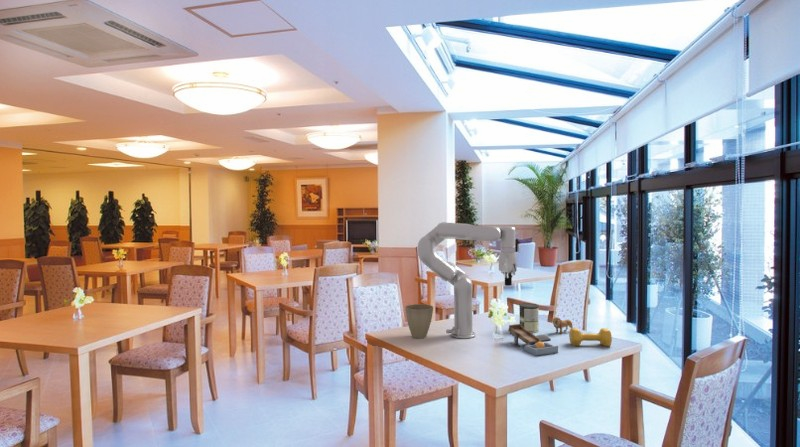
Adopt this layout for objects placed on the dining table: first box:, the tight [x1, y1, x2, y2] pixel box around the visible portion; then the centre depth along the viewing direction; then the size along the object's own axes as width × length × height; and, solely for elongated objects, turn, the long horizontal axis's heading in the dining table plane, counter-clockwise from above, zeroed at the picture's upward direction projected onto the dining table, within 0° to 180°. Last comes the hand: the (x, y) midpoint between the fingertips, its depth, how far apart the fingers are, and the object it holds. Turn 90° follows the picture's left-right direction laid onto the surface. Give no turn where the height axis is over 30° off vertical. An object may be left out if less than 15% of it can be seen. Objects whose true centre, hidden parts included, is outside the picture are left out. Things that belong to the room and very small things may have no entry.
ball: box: [535, 341, 545, 349], centre depth 223 cm, size 4×4×4 cm
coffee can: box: [519, 302, 540, 334], centre depth 262 cm, size 10×10×14 cm
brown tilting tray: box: [508, 323, 552, 345], centre depth 236 cm, size 15×14×4 cm
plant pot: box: [404, 303, 434, 339], centre depth 251 cm, size 15×15×16 cm
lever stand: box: [510, 332, 536, 348], centre depth 234 cm, size 4×12×6 cm, turn 113°
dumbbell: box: [568, 327, 613, 347], centre depth 233 cm, size 19×9×8 cm, turn 84°
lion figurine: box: [552, 316, 574, 335], centre depth 257 cm, size 15×5×9 cm, turn 122°
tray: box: [523, 342, 559, 357], centre depth 223 cm, size 10×12×3 cm
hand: (508, 285), depth 249 cm, fingers closed
